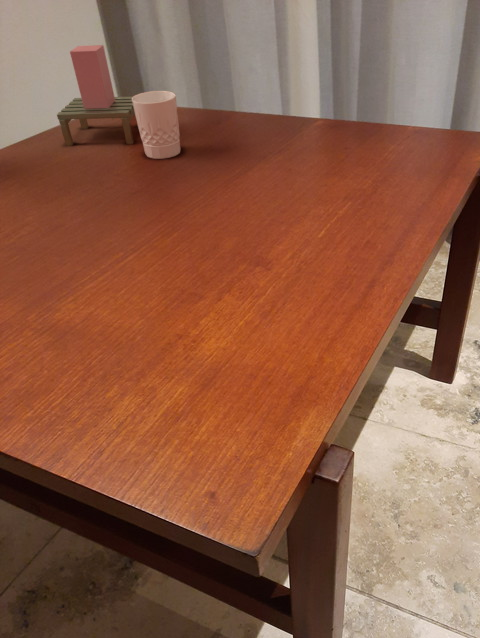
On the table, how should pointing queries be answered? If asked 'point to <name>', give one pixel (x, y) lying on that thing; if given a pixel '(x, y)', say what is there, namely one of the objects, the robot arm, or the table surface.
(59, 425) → the table surface
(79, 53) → the pink box
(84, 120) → the rack
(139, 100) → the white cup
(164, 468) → the table surface
